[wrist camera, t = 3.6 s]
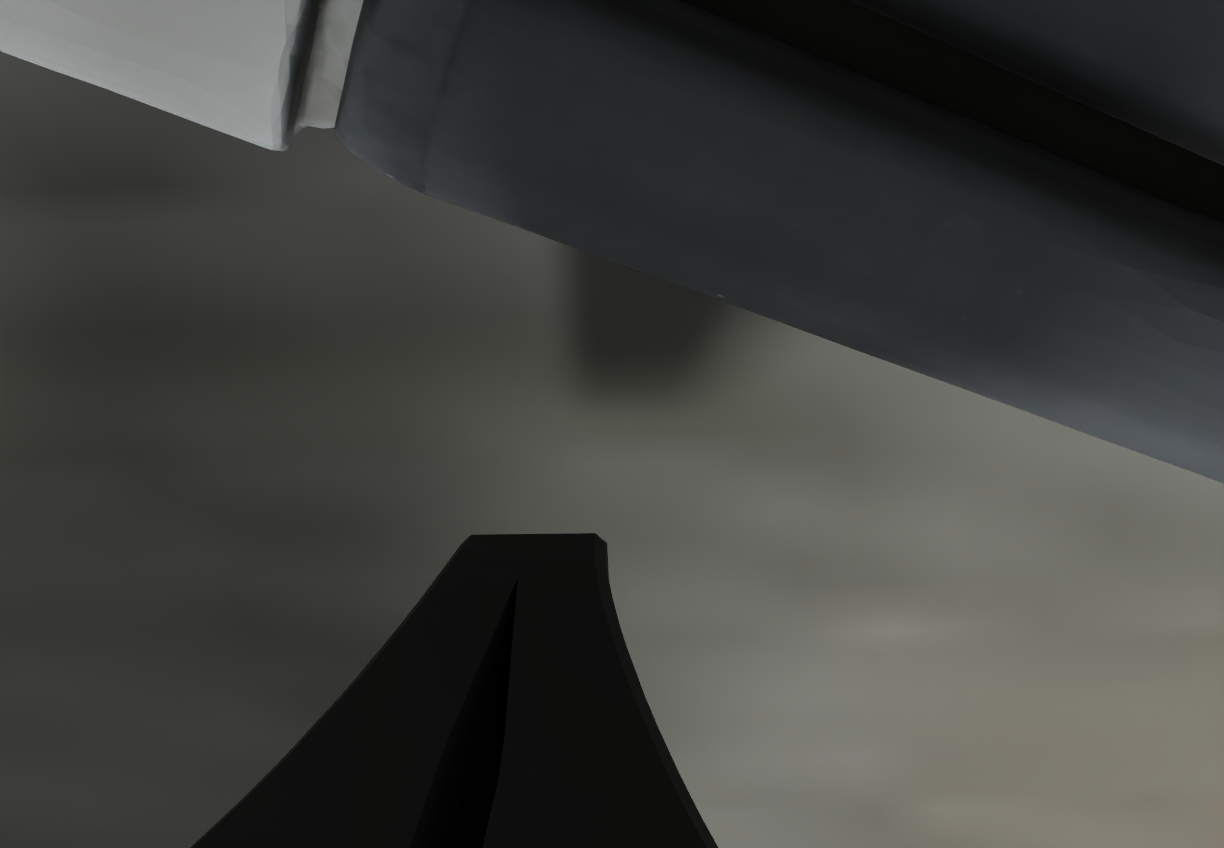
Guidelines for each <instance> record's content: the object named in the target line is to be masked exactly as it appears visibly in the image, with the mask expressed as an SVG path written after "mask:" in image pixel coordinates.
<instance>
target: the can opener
mask: <svg viewBox="0 0 1224 848" xmlns="http://www.w3.org/2000/svg"><path fill="white" fill-rule="evenodd" d="M850 1H852V2H854V3H857V4H859V5H861V6H864V7H866V8H868V9H870V10H873V11H875V12H877V13H879V14H882V15H884V16H886V17H888V18H891V19H893V20H895V21H897V22H900V23H902V24H904V25H906V26H909V27H911V28H913V29H916V30H918V31H920V32H922V33H925V34H927V35H929V36H931V37H934V38H936V39H938V40H940V41H943V42H945V43H947V44H949V45H952V46H954V47H956V48H958V49H961V50H963V51H965V52H968V53H970V54H972V55H974V56H977V57H979V58H981V59H983V60H986V61H988V62H990V63H992V64H995V65H997V66H999V67H1001V68H1004V69H1006V70H1008V71H1010V72H1013V73H1015V74H1017V75H1020V76H1022V77H1024V78H1026V79H1029V80H1031V81H1033V82H1035V83H1038V84H1040V85H1042V86H1044V87H1047V88H1049V89H1051V90H1053V91H1056V92H1058V93H1060V94H1062V95H1065V96H1067V97H1069V98H1072V99H1074V100H1076V101H1078V102H1081V103H1083V104H1085V105H1087V106H1090V107H1092V108H1094V109H1096V110H1099V111H1101V112H1103V113H1105V114H1108V115H1110V116H1112V117H1114V118H1117V119H1119V120H1121V121H1124V122H1126V123H1128V124H1130V125H1133V126H1135V127H1137V128H1139V129H1142V130H1144V131H1146V132H1148V133H1151V134H1153V135H1155V136H1157V137H1160V138H1162V139H1164V140H1167V141H1169V142H1171V143H1173V144H1176V145H1178V146H1180V147H1182V148H1185V149H1187V150H1189V151H1191V152H1194V153H1196V154H1198V155H1200V156H1203V157H1205V158H1207V159H1209V160H1212V161H1214V162H1216V163H1218V164H1221V165H1223V166H1224V0H850ZM0 51H1V52H4V53H6V54H9V55H12V56H15V57H17V58H20V59H23V60H26V61H28V62H31V63H34V64H37V65H39V66H42V67H45V68H48V69H50V70H53V71H56V72H59V73H62V74H65V75H68V76H71V77H74V78H76V79H79V80H82V81H85V82H88V83H91V84H94V85H97V86H100V87H102V88H105V89H108V90H110V91H113V92H116V93H118V94H121V95H124V96H126V97H129V98H132V99H134V100H137V101H140V102H142V103H145V104H148V105H150V106H153V107H156V108H158V109H161V110H164V111H166V112H169V113H172V114H174V115H177V116H180V117H182V118H185V119H188V120H190V121H193V122H196V123H198V124H201V125H204V126H206V127H209V128H212V129H215V130H217V131H220V132H223V133H225V134H228V135H231V136H234V137H236V138H239V139H242V140H245V141H247V142H250V143H253V144H255V145H258V146H261V147H264V148H267V149H270V150H276V151H285V150H286V149H288V148H289V146H290V144H291V142H292V140H293V138H294V137H295V136H296V135H297V134H298V133H299V131H300V130H301V129H302V128H304V127H307V126H311V127H317V128H322V129H324V128H333V127H334V129H335V134H336V138H337V139H338V140H339V141H340V142H341V143H342V144H343V145H344V146H345V147H346V149H347V150H348V151H349V152H351V153H352V154H354V155H355V156H357V157H358V158H360V159H361V160H363V161H364V162H366V163H367V164H369V165H370V166H372V167H374V168H375V169H377V170H378V171H380V172H382V173H384V174H386V175H387V176H389V177H391V178H393V179H394V180H396V181H398V182H400V183H401V184H403V185H405V186H408V187H410V188H412V189H415V190H417V191H419V192H422V193H424V194H426V195H429V196H432V197H435V198H437V199H440V200H443V201H445V202H448V203H451V204H454V205H456V206H459V207H462V208H465V209H468V210H471V211H474V212H477V213H479V214H482V215H485V216H488V217H491V218H494V219H497V220H499V221H502V222H505V223H508V224H511V225H514V226H517V227H520V228H522V229H525V230H528V231H530V232H533V233H536V234H539V235H541V236H544V237H547V238H550V239H552V240H555V241H558V242H561V243H563V244H566V245H569V246H572V247H574V248H577V249H580V250H583V251H585V252H588V253H591V254H594V255H596V256H599V257H602V258H605V259H607V260H610V261H613V262H616V263H618V264H621V265H624V266H627V267H630V268H632V269H635V270H638V271H641V272H644V273H646V274H649V275H652V276H655V277H658V278H660V279H663V280H666V281H669V282H672V283H675V284H677V285H680V286H683V287H686V288H689V289H691V290H694V291H697V292H700V293H703V294H705V295H708V296H711V297H713V298H716V299H719V300H722V301H724V302H727V303H730V304H732V305H735V306H738V307H741V308H743V309H746V310H749V311H751V312H754V313H757V314H760V315H762V316H765V317H768V318H770V319H773V320H776V321H779V322H781V323H784V324H787V325H789V326H792V327H795V328H798V329H800V330H803V331H806V332H808V333H811V334H814V335H817V336H819V337H822V338H825V339H827V340H830V341H833V342H836V343H838V344H841V345H844V346H847V347H849V348H852V349H855V350H857V351H860V352H863V353H866V354H869V355H871V356H874V357H877V358H880V359H882V360H885V361H888V362H891V363H894V364H896V365H899V366H902V367H905V368H908V369H910V370H913V371H916V372H919V373H921V374H924V375H927V376H930V377H933V378H935V379H938V380H941V381H944V382H946V383H949V384H952V385H955V386H958V387H960V388H963V389H966V390H969V391H971V392H974V393H977V394H980V395H982V396H985V397H988V398H991V399H993V400H996V401H999V402H1002V403H1005V404H1007V405H1010V406H1013V407H1016V408H1018V409H1021V410H1024V411H1027V412H1029V413H1032V414H1035V415H1037V416H1040V417H1043V418H1045V419H1048V420H1051V421H1054V422H1056V423H1059V424H1062V425H1064V426H1067V427H1070V428H1073V429H1075V430H1078V431H1081V432H1083V433H1086V434H1089V435H1092V436H1094V437H1097V438H1100V439H1103V440H1105V441H1108V442H1111V443H1114V444H1117V445H1119V446H1122V447H1125V448H1128V449H1130V450H1133V451H1136V452H1139V453H1142V454H1144V455H1147V456H1150V457H1153V458H1156V459H1158V460H1161V461H1164V462H1167V463H1170V464H1172V465H1175V466H1178V467H1181V468H1183V469H1186V470H1189V471H1192V472H1195V473H1197V474H1200V475H1203V476H1205V477H1208V478H1211V479H1213V480H1216V481H1219V482H1221V483H1224V222H1221V221H1218V220H1215V219H1212V218H1210V217H1207V216H1204V215H1201V214H1198V213H1195V212H1192V211H1189V210H1186V209H1183V208H1180V207H1177V206H1174V205H1172V204H1170V203H1167V202H1165V201H1163V200H1161V199H1158V198H1156V197H1154V196H1152V195H1149V194H1147V193H1145V192H1143V191H1140V190H1138V189H1136V188H1134V187H1131V186H1129V185H1127V184H1125V183H1122V182H1120V181H1118V180H1115V179H1113V178H1110V177H1108V176H1105V175H1103V174H1100V173H1098V172H1095V171H1093V170H1090V169H1088V168H1086V167H1083V166H1081V165H1078V164H1076V163H1074V162H1071V161H1069V160H1067V159H1065V158H1062V157H1060V156H1058V155H1055V154H1053V153H1050V152H1048V151H1045V150H1043V149H1041V148H1039V147H1038V146H1036V145H1034V144H1032V143H1030V142H1027V141H1024V140H1020V139H1017V138H1014V137H1012V136H1009V135H1006V134H1004V133H1001V132H999V131H997V130H994V129H992V128H990V127H988V126H986V125H983V124H981V123H979V122H977V121H974V120H972V119H970V118H968V117H964V116H961V115H958V114H955V113H953V112H950V111H948V110H945V109H943V108H940V107H938V106H935V105H933V104H930V103H928V102H926V101H923V100H921V99H918V98H916V97H913V96H911V95H908V94H906V93H904V92H901V91H899V90H896V89H894V88H892V87H889V86H887V85H884V84H882V83H880V82H877V81H875V80H873V79H870V78H868V77H865V76H863V75H861V74H858V73H856V72H854V71H851V70H849V69H846V68H844V67H842V66H839V65H837V64H834V63H832V62H829V61H827V60H824V59H822V58H819V57H817V56H814V55H811V54H809V53H806V52H804V51H802V50H799V49H797V48H795V47H793V46H790V45H788V44H786V43H784V42H781V41H779V40H777V39H775V38H772V37H770V36H768V35H766V34H763V33H761V32H759V31H756V30H753V29H750V28H747V27H745V26H743V25H740V24H738V23H735V22H733V21H731V20H728V19H726V18H723V17H721V16H719V15H716V14H714V13H711V12H709V11H707V10H704V9H702V8H699V7H696V6H694V5H691V4H688V3H686V2H683V1H681V0H0Z"/></svg>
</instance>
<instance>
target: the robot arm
mask: <svg viewBox="0 0 1224 848" xmlns="http://www.w3.org/2000/svg"><path fill="white" fill-rule="evenodd" d="M191 848H718V846H717V845H716V843H715V841H714V839H713V837H712V836H711V834H710V832H709V830H708V828H707V827H706V825H705V823H704V821H703V819H702V817H701V815H700V814H699V812H698V810H697V808H696V806H695V804H694V802H693V800H692V798H691V796H690V794H689V792H688V790H687V788H686V786H685V784H684V782H683V780H682V778H681V776H680V774H679V772H678V770H677V768H676V766H675V763H674V761H673V759H672V757H671V755H670V753H669V750H668V748H667V746H666V744H665V742H664V739H663V737H662V735H661V733H660V731H659V729H658V726H657V724H656V722H655V719H654V717H653V715H652V712H651V710H650V707H649V705H648V703H647V700H646V698H645V695H644V693H643V690H642V687H641V685H640V682H639V679H638V676H637V674H636V671H635V668H634V666H633V663H632V660H631V658H630V655H629V652H628V649H627V647H626V644H625V640H624V637H623V634H622V631H621V628H620V625H619V621H618V617H617V613H616V610H615V606H614V602H613V598H612V594H611V589H610V584H609V574H608V554H607V543H606V542H605V541H604V540H602V539H601V538H600V537H599V536H598V535H597V534H595V533H586V534H497V535H471V536H469V537H468V538H467V539H466V540H465V541H464V542H463V543H462V544H461V545H460V547H459V548H458V549H457V551H456V552H455V553H454V555H453V556H452V558H451V559H450V560H449V562H448V563H447V564H446V566H445V567H444V568H443V570H442V571H441V572H440V574H439V575H438V577H437V578H436V579H435V581H434V582H433V583H432V585H431V586H430V587H429V588H428V590H427V591H426V592H425V594H424V595H423V596H422V598H421V599H420V600H419V602H418V603H417V604H416V605H415V607H414V608H413V609H412V611H411V612H410V613H409V614H408V616H407V617H406V618H405V619H404V621H403V622H402V623H401V625H400V626H399V627H398V628H397V630H396V631H395V632H394V633H393V634H392V636H391V637H390V638H389V639H388V640H387V642H386V643H385V644H384V645H383V646H382V648H381V649H380V650H379V651H378V652H377V654H376V655H375V656H374V657H373V658H372V660H371V661H370V662H369V663H368V664H367V666H366V667H365V668H364V669H363V670H362V672H361V673H360V674H359V675H358V676H357V678H356V679H355V680H354V681H353V682H352V684H351V685H350V686H349V687H348V688H347V689H346V690H345V692H344V693H343V694H342V695H341V696H340V697H339V698H338V699H337V700H336V702H335V703H334V704H333V705H332V706H331V707H330V708H329V709H328V710H327V711H326V712H325V713H324V715H323V716H322V717H321V718H320V719H319V720H318V721H317V722H316V723H315V724H314V725H313V726H312V727H311V729H310V730H309V731H308V732H307V733H306V734H305V735H304V736H303V737H302V738H301V739H300V740H299V742H298V743H297V744H296V745H295V746H294V747H293V748H292V749H291V750H290V751H289V752H288V753H287V754H286V756H285V757H284V758H283V759H282V760H281V761H280V762H279V763H278V764H277V765H276V766H275V767H274V768H273V769H272V770H271V771H270V772H269V773H268V774H267V775H266V776H265V777H264V778H263V779H262V780H261V781H260V782H259V783H258V784H257V785H256V786H255V787H254V788H253V789H252V790H251V791H250V792H249V793H248V794H247V795H246V796H245V797H244V798H243V799H242V800H241V801H240V802H239V803H238V804H237V805H236V806H235V807H233V808H232V809H231V810H230V811H229V812H228V813H227V814H226V815H225V816H224V817H223V818H222V819H221V820H220V821H219V822H218V823H216V824H215V825H214V826H213V827H212V828H211V829H210V830H209V831H208V832H207V833H206V834H205V835H204V836H202V837H201V838H200V839H199V840H198V841H197V842H196V843H195V844H194V845H193V846H192V847H191Z"/></svg>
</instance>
